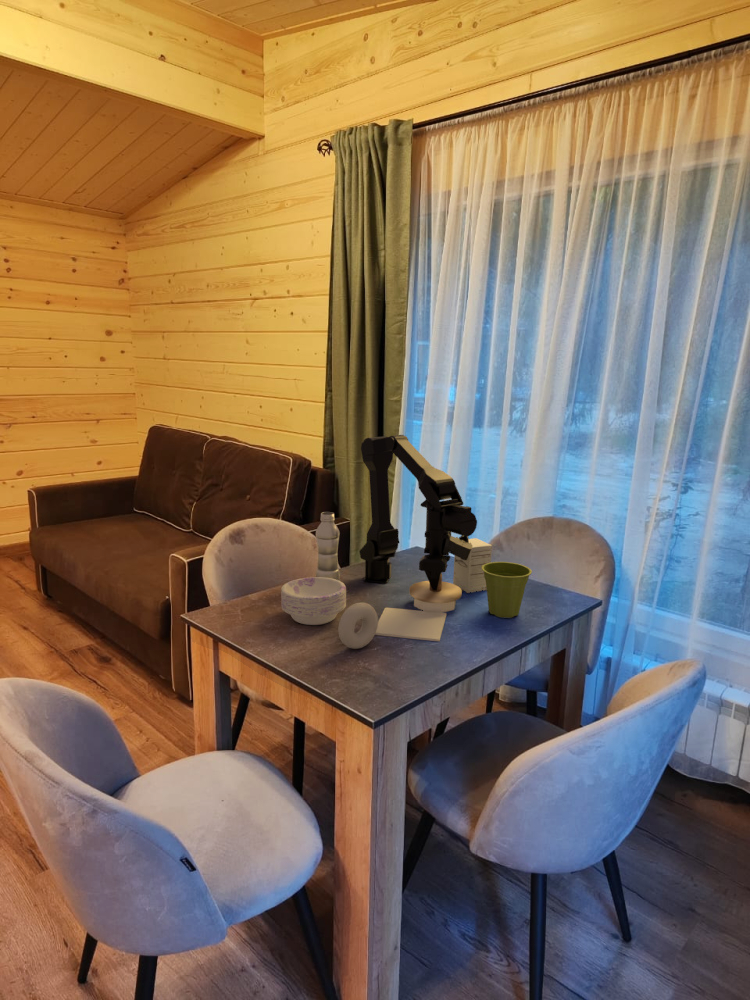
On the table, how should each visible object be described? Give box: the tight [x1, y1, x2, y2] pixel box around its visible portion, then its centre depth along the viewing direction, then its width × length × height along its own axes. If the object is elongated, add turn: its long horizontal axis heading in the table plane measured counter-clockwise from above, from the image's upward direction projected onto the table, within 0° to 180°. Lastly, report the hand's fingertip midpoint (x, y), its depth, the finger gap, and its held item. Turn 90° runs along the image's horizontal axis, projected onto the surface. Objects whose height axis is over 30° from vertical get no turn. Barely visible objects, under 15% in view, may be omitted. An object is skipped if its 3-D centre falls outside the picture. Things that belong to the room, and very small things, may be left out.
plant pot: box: [482, 561, 533, 619], centre depth 154 cm, size 12×12×11 cm
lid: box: [408, 573, 463, 603], centre depth 158 cm, size 13×13×5 cm
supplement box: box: [452, 537, 493, 594], centre depth 171 cm, size 7×7×13 cm
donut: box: [337, 602, 379, 650], centre depth 134 cm, size 10×4×10 cm, turn 131°
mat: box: [374, 607, 447, 642], centre depth 147 cm, size 15×15×1 cm
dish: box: [413, 598, 457, 613], centre depth 159 cm, size 10×10×4 cm
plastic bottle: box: [315, 511, 341, 581], centre depth 170 cm, size 6×7×20 cm
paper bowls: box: [280, 576, 347, 626], centre depth 150 cm, size 15×15×8 cm
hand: (435, 587), depth 159 cm, fingers closed on lid, 3 cm apart
